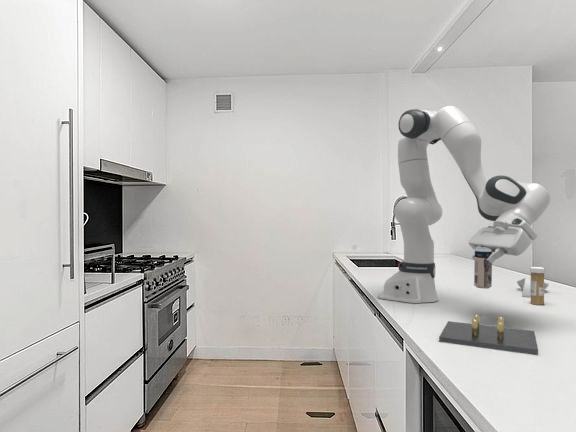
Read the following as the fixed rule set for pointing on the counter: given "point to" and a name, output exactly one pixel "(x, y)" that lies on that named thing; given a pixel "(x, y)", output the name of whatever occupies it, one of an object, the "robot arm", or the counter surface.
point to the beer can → (482, 268)
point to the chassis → (490, 336)
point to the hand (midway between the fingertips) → (481, 260)
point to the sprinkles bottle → (537, 285)
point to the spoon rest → (527, 286)
